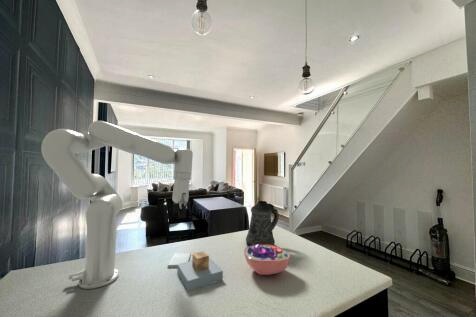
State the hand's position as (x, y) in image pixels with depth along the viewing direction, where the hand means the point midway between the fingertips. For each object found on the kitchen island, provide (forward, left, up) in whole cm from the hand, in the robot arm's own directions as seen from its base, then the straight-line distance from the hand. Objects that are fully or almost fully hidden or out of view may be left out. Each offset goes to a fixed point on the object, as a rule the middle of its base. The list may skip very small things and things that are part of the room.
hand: (179, 215), depth 85 cm
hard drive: (+3, +6, -24) cm, 25 cm away
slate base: (+6, -10, -23) cm, 26 cm away
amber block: (+6, -11, -19) cm, 23 cm away
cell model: (+32, -21, -23) cm, 45 cm away
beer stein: (+49, +3, -23) cm, 54 cm away
